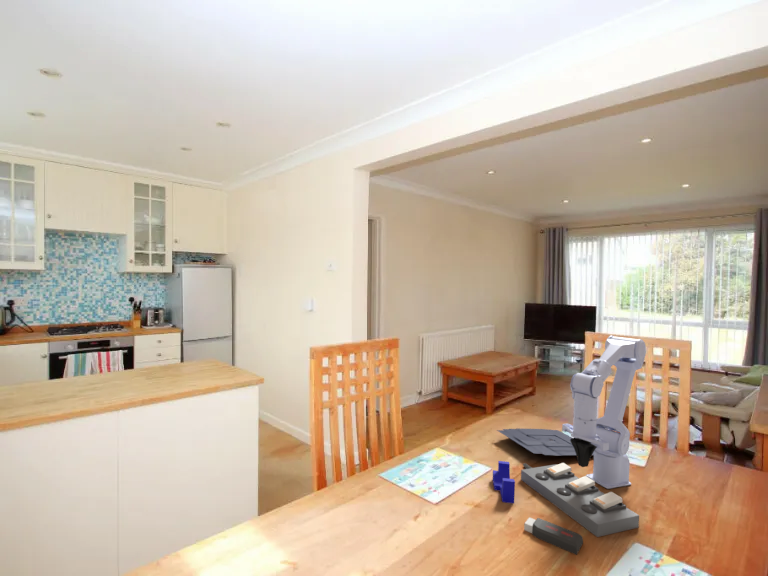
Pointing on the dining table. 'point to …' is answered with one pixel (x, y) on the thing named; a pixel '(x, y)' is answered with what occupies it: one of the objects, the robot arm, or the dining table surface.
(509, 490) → the blue pipe cradle
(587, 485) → the rocker middle
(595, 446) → the robot arm
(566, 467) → the rocker
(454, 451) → the dining table surface
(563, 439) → the grey ridged plate
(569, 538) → the usb drive
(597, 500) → the rocker
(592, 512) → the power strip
